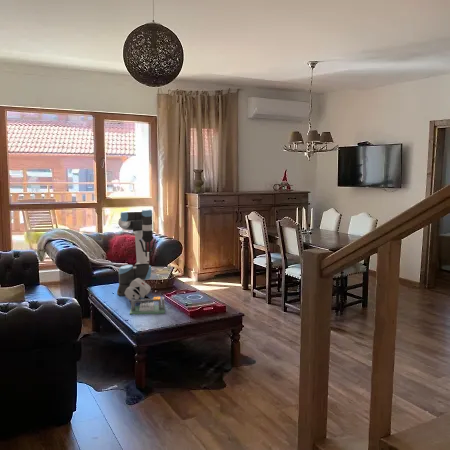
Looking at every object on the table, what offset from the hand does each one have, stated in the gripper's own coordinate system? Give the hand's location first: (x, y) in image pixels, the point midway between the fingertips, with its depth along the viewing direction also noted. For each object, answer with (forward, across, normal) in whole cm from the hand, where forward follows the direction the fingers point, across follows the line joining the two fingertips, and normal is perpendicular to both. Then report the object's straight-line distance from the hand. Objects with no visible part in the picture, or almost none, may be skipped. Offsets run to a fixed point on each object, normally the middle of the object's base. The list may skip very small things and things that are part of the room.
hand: (148, 260), depth 351 cm
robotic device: (+35, -8, +5) cm, 36 cm away
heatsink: (+33, -1, -14) cm, 36 cm away
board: (+34, 0, -14) cm, 37 cm away
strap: (+27, -1, -14) cm, 31 cm away
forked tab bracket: (+33, -11, -14) cm, 38 cm away
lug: (+33, +10, -14) cm, 37 cm away
